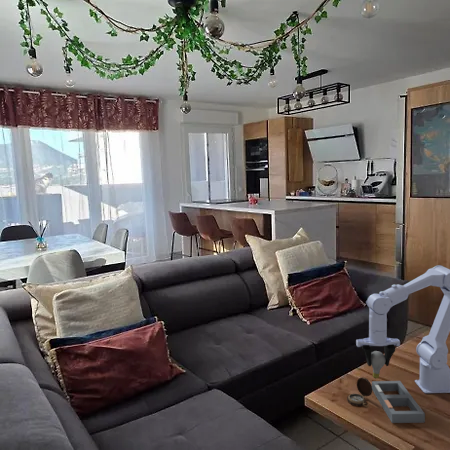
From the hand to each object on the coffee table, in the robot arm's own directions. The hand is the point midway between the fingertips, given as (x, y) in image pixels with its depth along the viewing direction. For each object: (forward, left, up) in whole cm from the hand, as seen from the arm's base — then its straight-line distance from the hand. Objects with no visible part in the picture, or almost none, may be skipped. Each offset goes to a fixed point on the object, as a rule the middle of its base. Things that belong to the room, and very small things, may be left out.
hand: (377, 364), depth 137 cm
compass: (+8, +7, -10) cm, 15 cm away
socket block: (-3, +9, -10) cm, 13 cm away
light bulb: (+1, 0, -6) cm, 6 cm away
